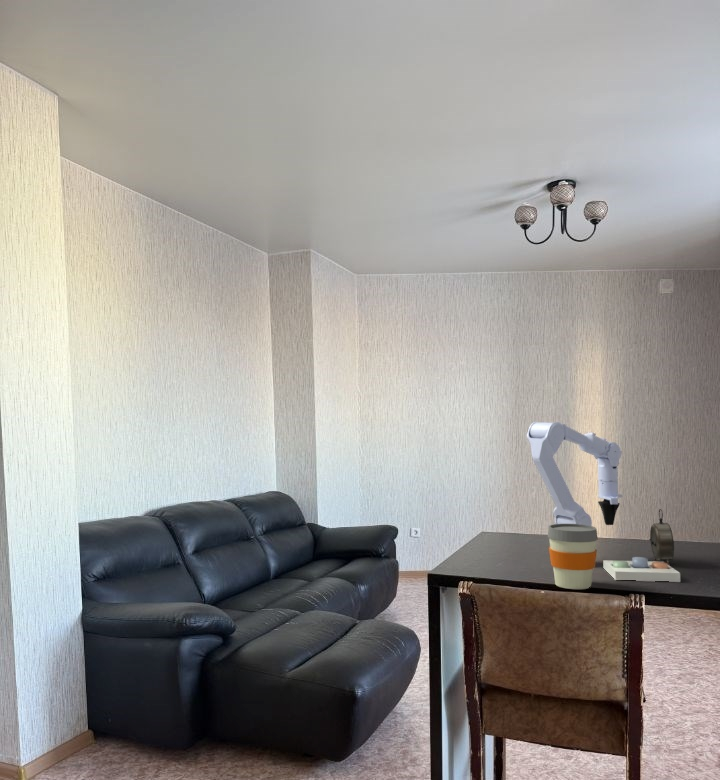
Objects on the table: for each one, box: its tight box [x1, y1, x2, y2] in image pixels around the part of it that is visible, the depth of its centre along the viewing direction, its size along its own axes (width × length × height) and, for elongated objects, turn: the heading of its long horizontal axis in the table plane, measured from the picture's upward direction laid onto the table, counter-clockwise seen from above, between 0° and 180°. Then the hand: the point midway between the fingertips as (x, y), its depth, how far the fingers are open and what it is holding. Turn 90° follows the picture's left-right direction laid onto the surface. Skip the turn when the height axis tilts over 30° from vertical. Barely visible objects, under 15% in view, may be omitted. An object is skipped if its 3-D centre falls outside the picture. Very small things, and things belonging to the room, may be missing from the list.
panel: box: [602, 559, 681, 583], centre depth 189 cm, size 17×14×2 cm
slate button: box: [631, 556, 649, 568], centre depth 189 cm, size 4×4×3 cm
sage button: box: [612, 560, 628, 568], centre depth 190 cm, size 4×4×3 cm
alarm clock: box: [648, 508, 675, 567], centre depth 204 cm, size 11×5×16 cm, turn 168°
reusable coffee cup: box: [547, 523, 598, 590], centre depth 179 cm, size 13×12×15 cm
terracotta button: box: [652, 561, 668, 569], centre depth 189 cm, size 4×4×3 cm
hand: (609, 524), depth 211 cm, fingers closed
